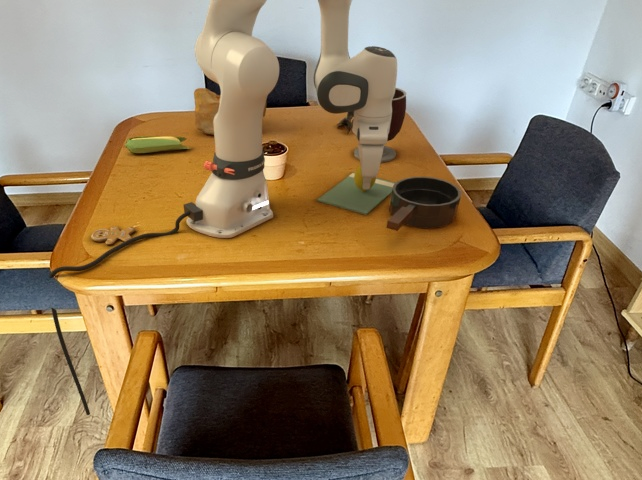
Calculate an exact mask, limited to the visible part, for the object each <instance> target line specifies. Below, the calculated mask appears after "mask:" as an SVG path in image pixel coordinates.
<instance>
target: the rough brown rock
mask: <svg viewBox="0 0 642 480" xmlns="http://www.w3.org/2000/svg"><path fill="white" fill-rule="evenodd" d="M193 97H194V118H195V119H194V124H195V127H196V128H197V130H198V131H201V132H203V134H206V135H213V136H214V124H213V120H214V117H215V115H216V114H217V113H218V110H219V105H220V98H221V94H217V93H215V92H213V91H211V90H210V89H209V88H205V87H197V88H196V89H194V91H193ZM267 103H268V102H266V103H265V107H264V112H263V118H265V116H266V112H267V105H268V104H267Z"/></svg>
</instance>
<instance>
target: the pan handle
mask: <svg viewBox="0 0 642 480" xmlns="http://www.w3.org/2000/svg"><path fill="white" fill-rule="evenodd" d="M415 209H416V205H413V204H409V205H408V206H407V207H401V208H400V209H399V210H398V211H397V212H396V213H395V214H394V215H393V216H391V217H390V218H388V219H387V222H386V227H385V228H386V229H389V230H393V231H395V232H398V231H399V230H400V229H401V228H402V227H403V226H404V225H406V224H405V223H406V222H407V221H408V220H409V219H410V218H411V217H412V213H413V211H414V210H415Z"/></svg>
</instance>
